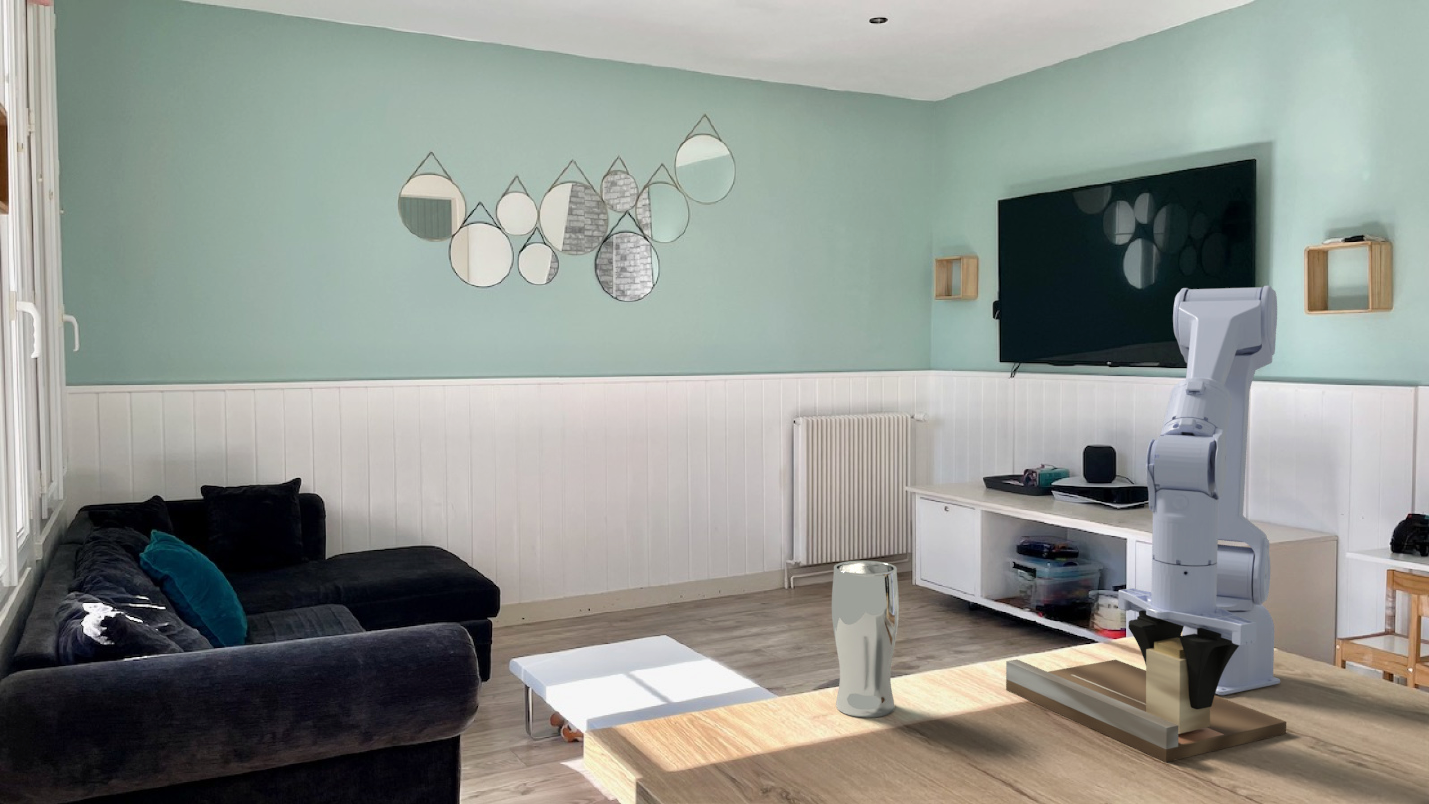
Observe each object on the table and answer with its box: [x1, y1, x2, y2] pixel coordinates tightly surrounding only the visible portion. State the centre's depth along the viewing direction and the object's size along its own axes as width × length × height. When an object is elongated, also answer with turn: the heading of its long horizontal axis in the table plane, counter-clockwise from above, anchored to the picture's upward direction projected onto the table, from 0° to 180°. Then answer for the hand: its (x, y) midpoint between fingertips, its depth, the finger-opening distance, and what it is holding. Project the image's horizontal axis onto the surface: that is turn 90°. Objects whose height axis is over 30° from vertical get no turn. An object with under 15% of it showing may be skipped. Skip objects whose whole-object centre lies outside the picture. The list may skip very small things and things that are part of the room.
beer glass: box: [831, 560, 900, 719], centre depth 111 cm, size 7×7×15 cm
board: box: [1005, 659, 1287, 763], centre depth 110 cm, size 16×22×3 cm
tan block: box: [1145, 638, 1210, 734], centre depth 102 cm, size 4×4×8 cm
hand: (1181, 699), depth 102 cm, fingers closed on tan block, 4 cm apart
